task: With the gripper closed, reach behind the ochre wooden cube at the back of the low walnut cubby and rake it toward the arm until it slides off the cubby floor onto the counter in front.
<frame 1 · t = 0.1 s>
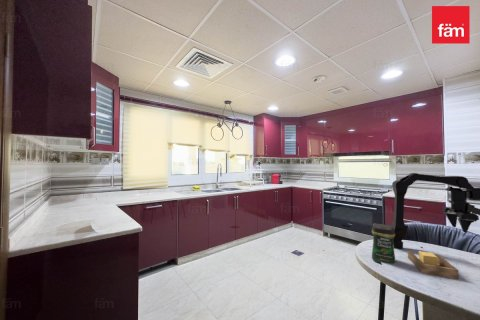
hand: (459, 229, 105), 15 cm above the table, tool pointing down, fingers open, 9 cm apart
ochre cube: (428, 264, 95), point 1 cm above the table, touching walnut cubby
coffee jar: (383, 262, 101), on the table
walnut cubby: (430, 269, 93), on the table
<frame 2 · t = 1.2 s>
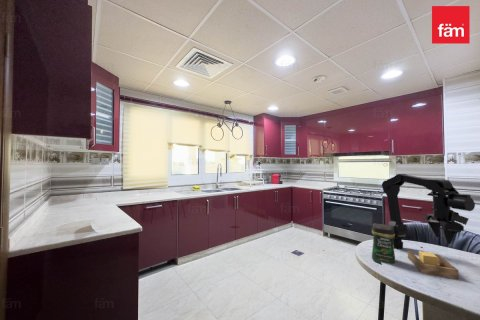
hand: (442, 240, 93), 14 cm above the table, tool pointing down, fingers open, 9 cm apart
nothing on the table moved.
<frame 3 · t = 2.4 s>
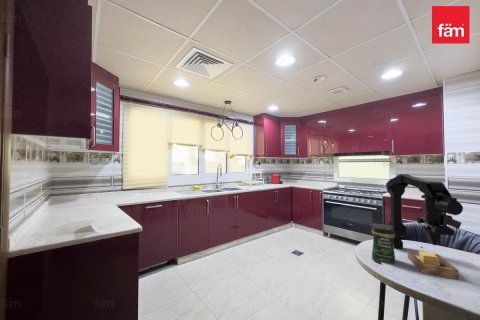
hand: (434, 244, 89), 13 cm above the table, tool pointing down, fingers closed
nothing on the table moved.
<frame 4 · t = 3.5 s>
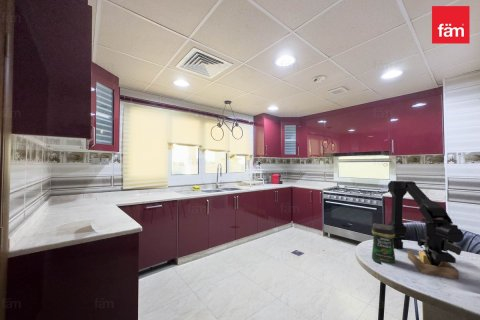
hand: (435, 269, 89), 2 cm above the table, tool pointing down, fingers closed
nothing on the table moved.
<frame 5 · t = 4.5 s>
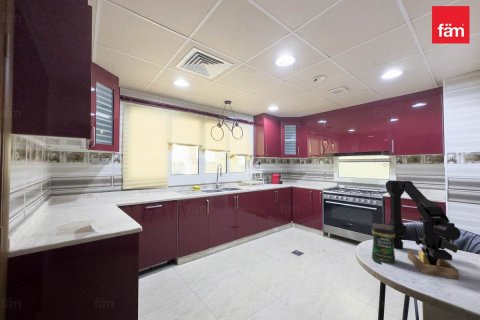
hand: (432, 267, 91), 2 cm above the table, tool pointing down, fingers closed
ochre cube: (428, 264, 95), point 1 cm above the table, touching gripper, walnut cubby
everything else where it was.
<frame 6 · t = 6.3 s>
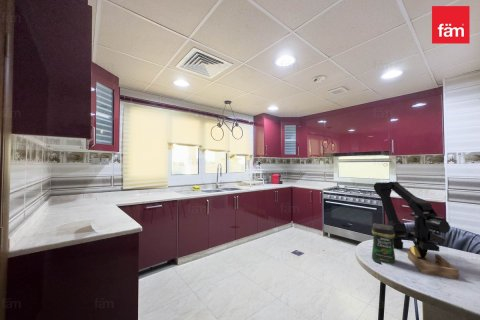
hand: (422, 258, 100), 2 cm above the table, tool pointing down, fingers closed
ochre cube: (419, 257, 103), point 1 cm above the table, tilted 27°, touching gripper
everything else where it was.
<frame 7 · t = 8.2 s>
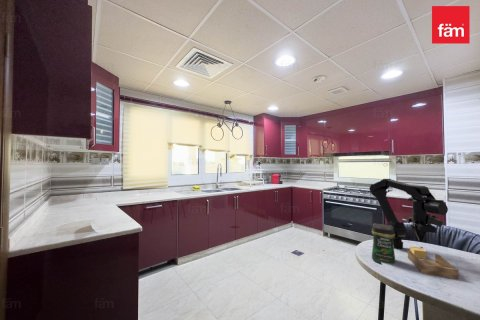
hand: (420, 241, 102), 10 cm above the table, tool pointing down, fingers closed
ochre cube: (418, 258, 104), on the table
everything else where it was.
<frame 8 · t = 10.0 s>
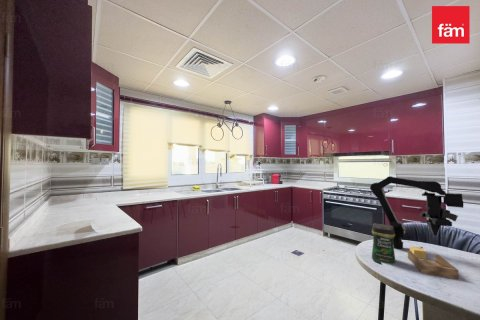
hand: (435, 235, 105), 12 cm above the table, tool pointing down, fingers closed
nothing on the table moved.
at the end: ochre cube inside the target area (2.5 cm from its centre), on the table; ochre cube tilted 0°; ochre cube touching table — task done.
